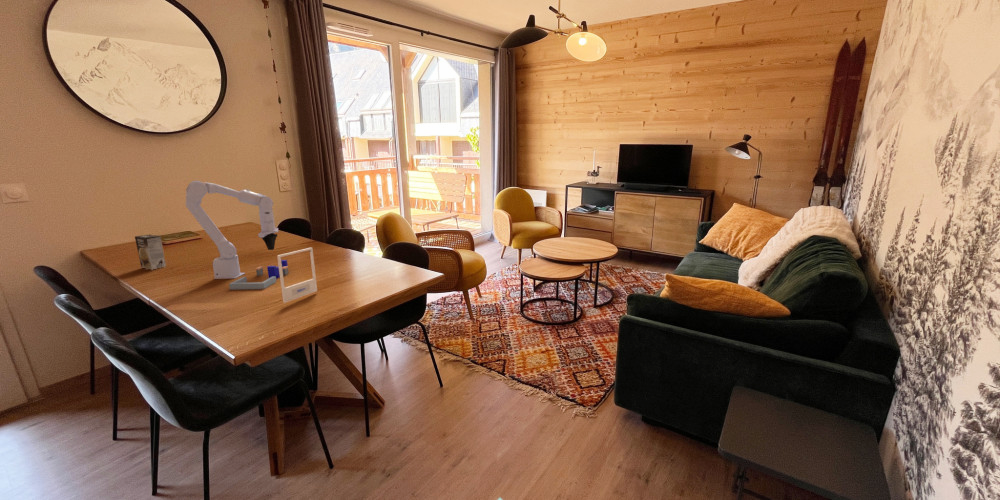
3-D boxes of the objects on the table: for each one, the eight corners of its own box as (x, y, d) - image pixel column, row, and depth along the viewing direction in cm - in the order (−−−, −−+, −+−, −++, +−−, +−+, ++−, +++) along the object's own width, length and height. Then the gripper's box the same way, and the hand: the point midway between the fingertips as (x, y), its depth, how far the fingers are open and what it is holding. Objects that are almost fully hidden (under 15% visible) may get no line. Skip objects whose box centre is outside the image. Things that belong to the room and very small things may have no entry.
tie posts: (256, 276, 183) (255, 268, 182) (260, 274, 186) (259, 266, 185) (285, 275, 183) (284, 267, 183) (288, 273, 186) (288, 266, 186)
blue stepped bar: (278, 272, 189) (277, 260, 188) (288, 272, 189) (286, 260, 188) (265, 279, 177) (263, 266, 176) (275, 279, 178) (274, 266, 176)
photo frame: (285, 302, 148) (279, 255, 144) (283, 302, 149) (277, 255, 145) (317, 291, 161) (312, 247, 157) (315, 290, 162) (310, 247, 158)
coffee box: (140, 268, 196) (133, 236, 192) (155, 265, 202) (149, 234, 198) (152, 270, 193) (145, 237, 189) (167, 267, 198) (160, 235, 195)
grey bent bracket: (229, 289, 164) (228, 283, 163) (243, 282, 174) (243, 276, 173) (264, 288, 164) (263, 283, 164) (276, 281, 174) (275, 276, 174)
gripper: (268, 223, 181) (272, 252, 184) (283, 219, 195) (286, 246, 198) (252, 223, 181) (256, 253, 184) (268, 219, 195) (272, 246, 198)
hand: (271, 249), depth 191 cm, fingers closed
